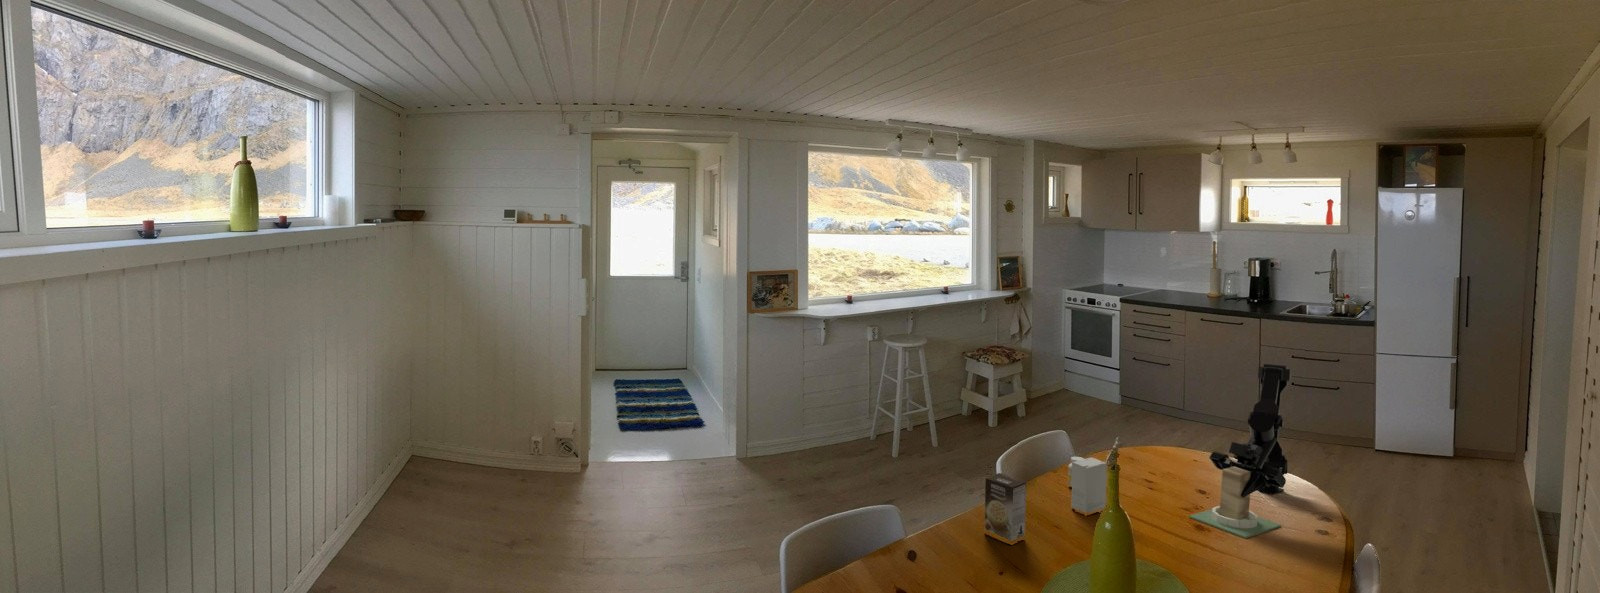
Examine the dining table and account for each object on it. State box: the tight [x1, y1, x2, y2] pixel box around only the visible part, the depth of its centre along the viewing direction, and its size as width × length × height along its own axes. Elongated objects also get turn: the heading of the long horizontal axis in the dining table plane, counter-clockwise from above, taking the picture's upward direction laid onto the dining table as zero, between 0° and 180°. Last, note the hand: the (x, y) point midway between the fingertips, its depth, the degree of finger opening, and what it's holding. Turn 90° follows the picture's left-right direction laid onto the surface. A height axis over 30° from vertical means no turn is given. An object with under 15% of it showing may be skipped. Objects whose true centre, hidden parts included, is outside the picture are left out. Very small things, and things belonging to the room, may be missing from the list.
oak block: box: [1219, 466, 1251, 520], centre depth 202 cm, size 5×5×13 cm
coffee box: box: [984, 472, 1027, 541], centre depth 193 cm, size 9×6×16 cm
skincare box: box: [1070, 457, 1108, 513], centre depth 211 cm, size 8×6×15 cm
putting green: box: [1188, 505, 1282, 539], centre depth 202 cm, size 16×16×2 cm
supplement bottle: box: [1067, 456, 1085, 486], centre depth 230 cm, size 5×5×10 cm
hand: (1232, 493), depth 201 cm, fingers closed on oak block, 5 cm apart
